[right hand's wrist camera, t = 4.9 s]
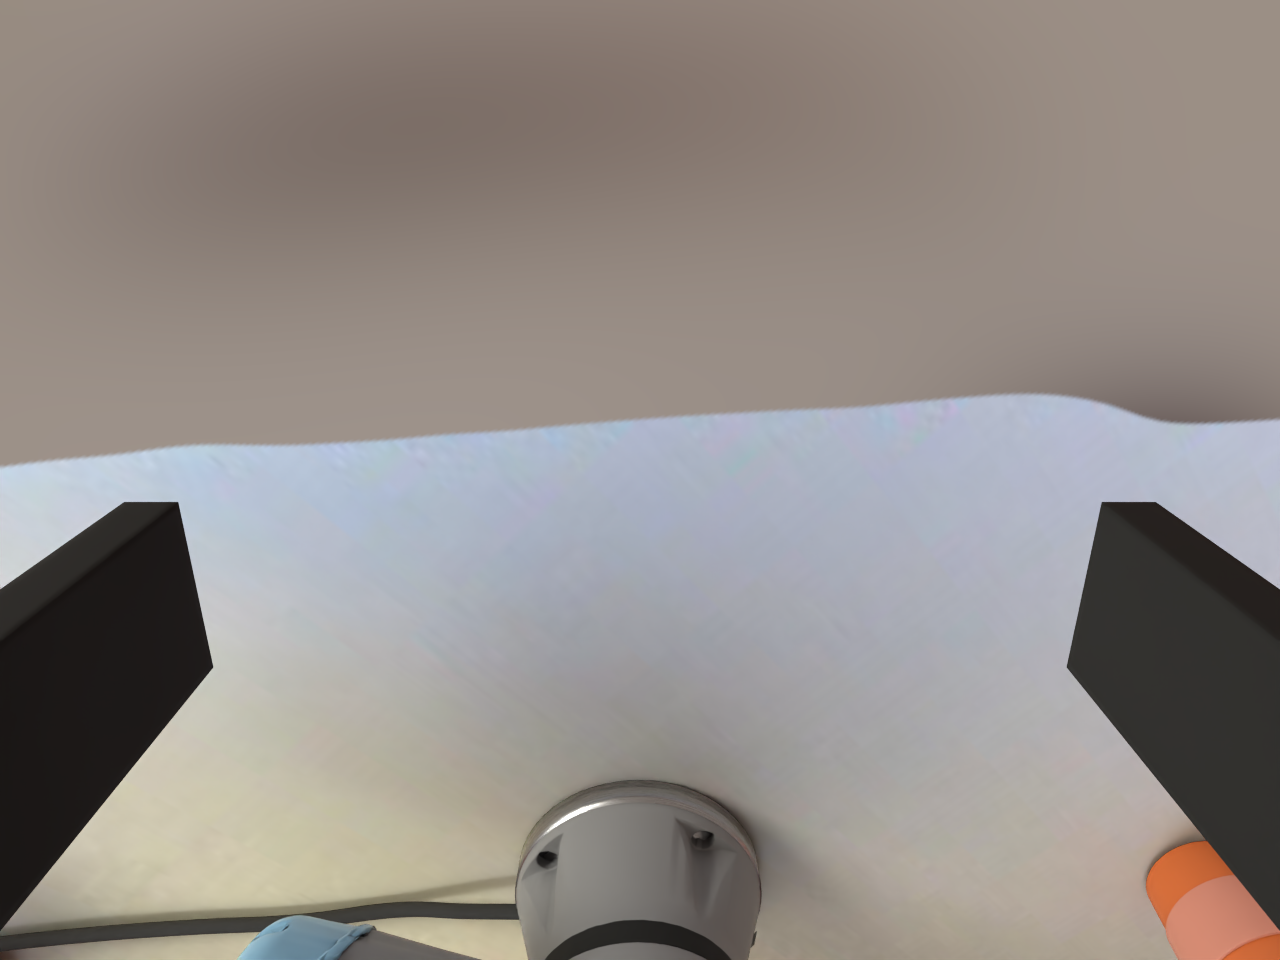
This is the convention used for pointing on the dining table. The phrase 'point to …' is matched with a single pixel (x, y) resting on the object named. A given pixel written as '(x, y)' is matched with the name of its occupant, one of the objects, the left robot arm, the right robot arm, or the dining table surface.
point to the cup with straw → (1208, 908)
